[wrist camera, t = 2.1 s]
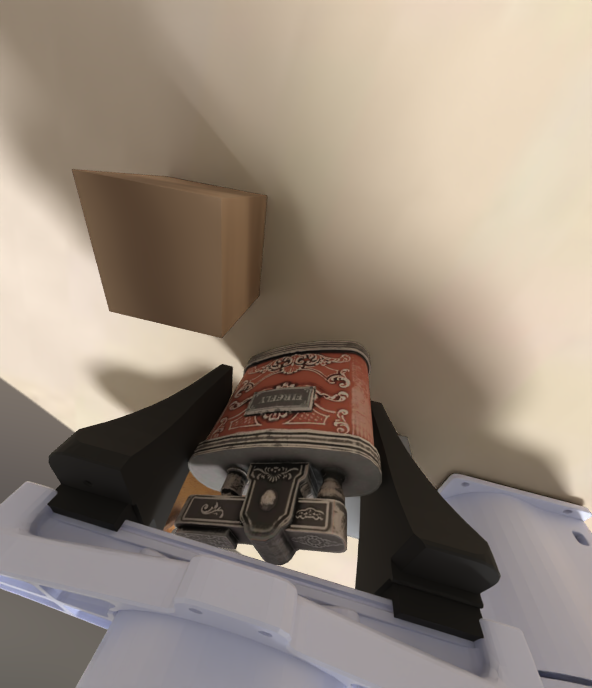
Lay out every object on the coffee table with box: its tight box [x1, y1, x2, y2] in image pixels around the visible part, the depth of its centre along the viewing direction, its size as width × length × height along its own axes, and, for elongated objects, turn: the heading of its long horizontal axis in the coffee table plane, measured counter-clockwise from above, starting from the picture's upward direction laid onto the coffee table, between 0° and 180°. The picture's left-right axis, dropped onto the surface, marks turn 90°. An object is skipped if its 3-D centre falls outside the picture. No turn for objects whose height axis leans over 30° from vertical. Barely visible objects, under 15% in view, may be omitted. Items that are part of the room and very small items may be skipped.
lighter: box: [174, 341, 382, 565], centre depth 12 cm, size 8×3×10 cm, turn 107°
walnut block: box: [72, 169, 267, 338], centre depth 11 cm, size 5×5×5 cm
